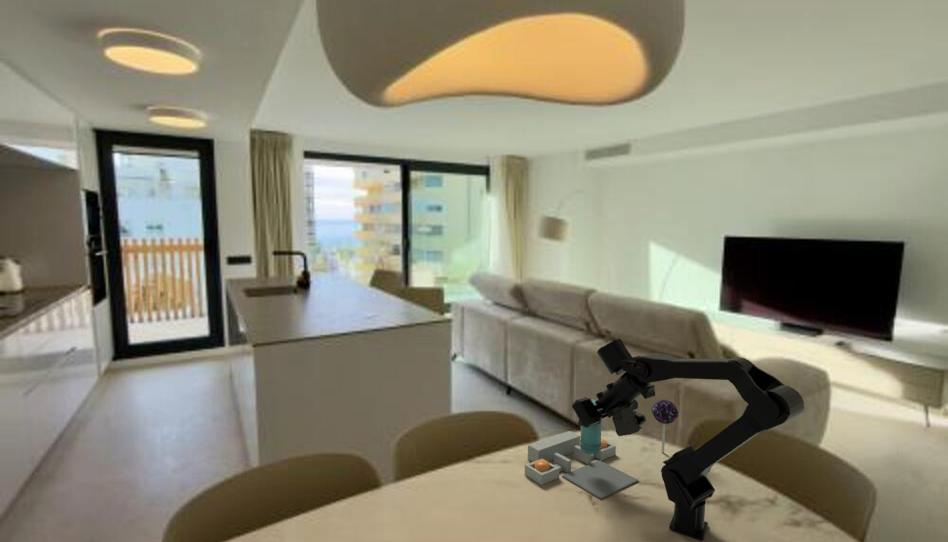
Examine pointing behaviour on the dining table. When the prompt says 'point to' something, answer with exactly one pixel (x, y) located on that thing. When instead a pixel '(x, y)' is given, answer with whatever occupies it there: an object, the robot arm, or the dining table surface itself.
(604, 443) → the right plunger
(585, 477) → the mat
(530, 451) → the housing
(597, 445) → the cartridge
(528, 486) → the dining table surface
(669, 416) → the lollipop
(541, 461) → the left plunger
